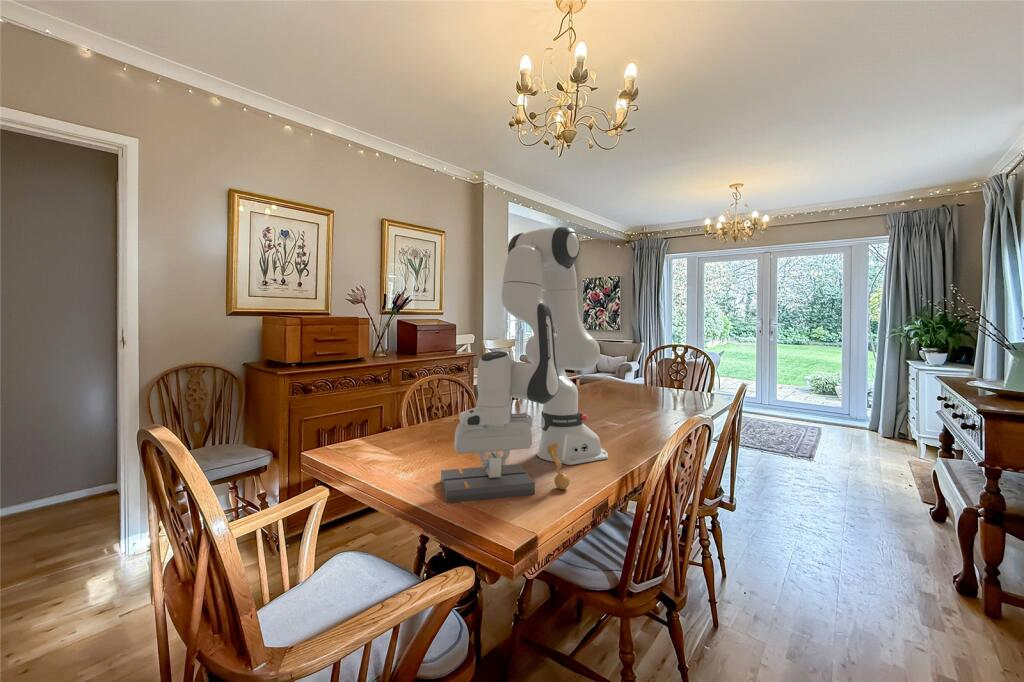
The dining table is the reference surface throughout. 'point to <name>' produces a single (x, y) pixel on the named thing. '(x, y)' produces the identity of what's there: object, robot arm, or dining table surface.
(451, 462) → the dining table surface
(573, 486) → the dining table surface
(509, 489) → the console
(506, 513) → the dining table surface
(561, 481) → the figurine
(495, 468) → the fader tab
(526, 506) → the dining table surface
